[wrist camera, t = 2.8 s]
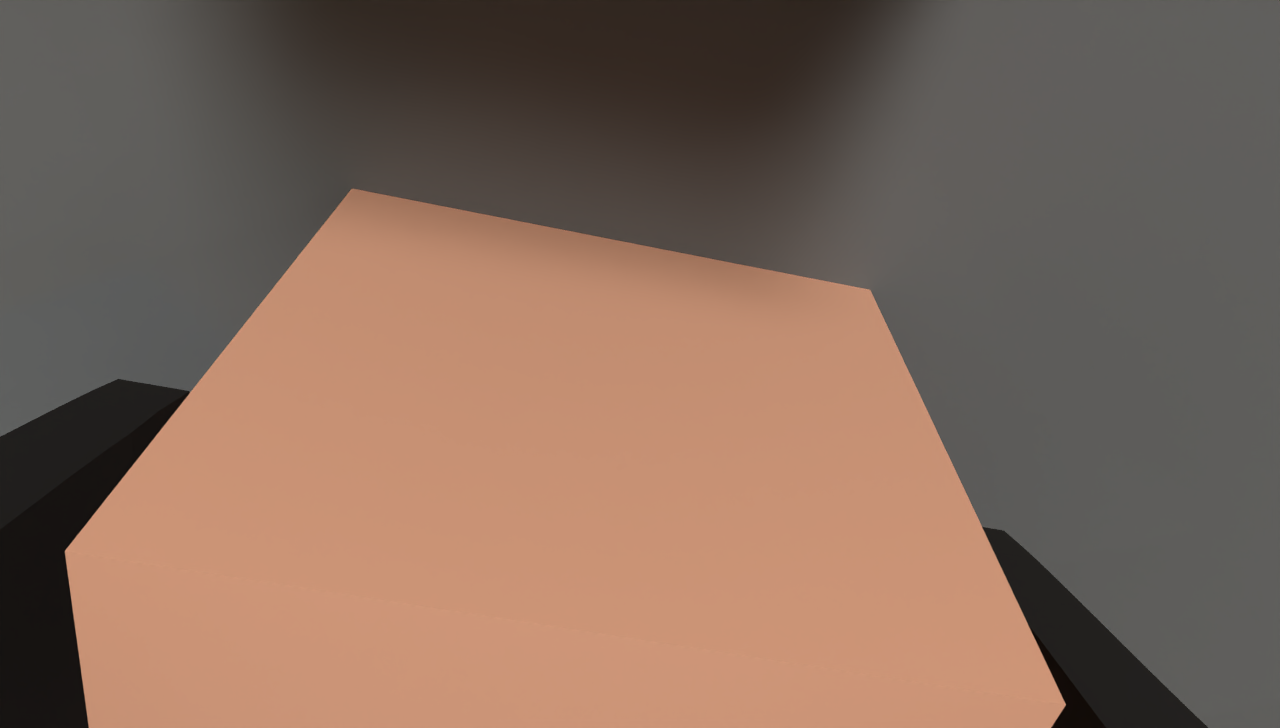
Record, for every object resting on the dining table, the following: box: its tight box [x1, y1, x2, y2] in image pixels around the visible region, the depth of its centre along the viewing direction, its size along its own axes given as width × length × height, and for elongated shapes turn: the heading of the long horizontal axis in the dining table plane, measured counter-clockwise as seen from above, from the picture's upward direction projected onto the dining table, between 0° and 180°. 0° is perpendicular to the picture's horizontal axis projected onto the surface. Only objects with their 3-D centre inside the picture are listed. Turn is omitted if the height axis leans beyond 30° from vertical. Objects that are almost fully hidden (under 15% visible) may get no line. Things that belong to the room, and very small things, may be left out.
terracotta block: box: [65, 189, 1066, 728], centre depth 8 cm, size 5×5×5 cm
